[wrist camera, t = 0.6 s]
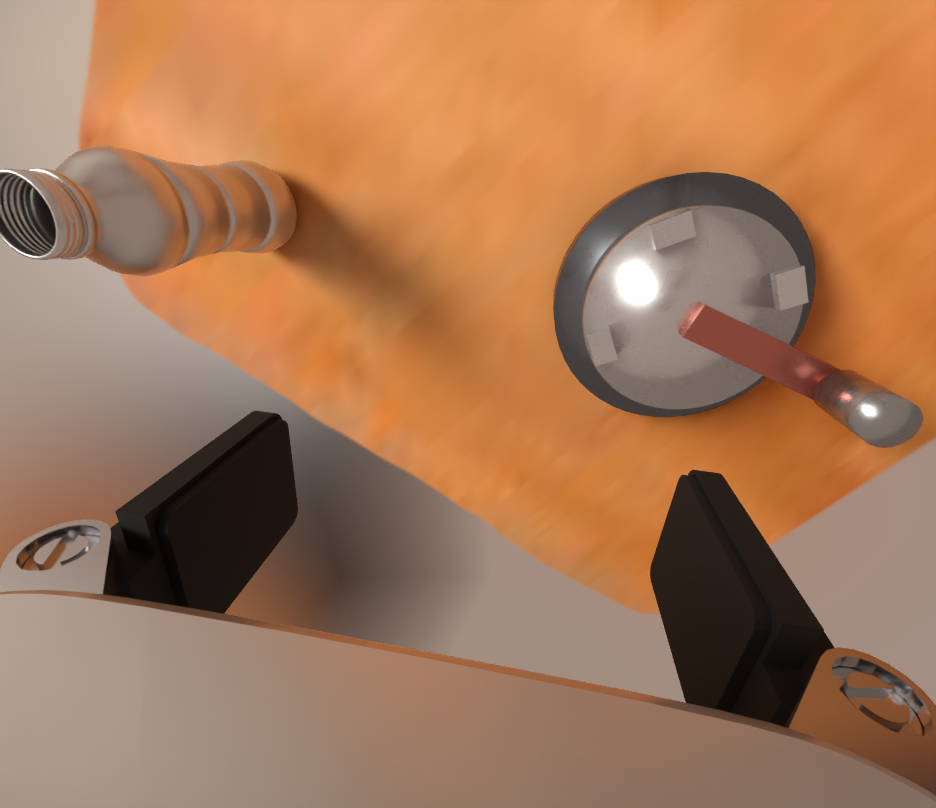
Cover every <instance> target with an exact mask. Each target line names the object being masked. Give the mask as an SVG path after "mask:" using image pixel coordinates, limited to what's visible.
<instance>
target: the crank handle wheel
mask: <svg viewBox="0 0 936 808" xmlns="http://www.w3.org/2000/svg"><path fill="white" fill-rule="evenodd" d="M805 303H808V293H807V284H806V275H805V266H804V265H800V264H799V261H798V259H797V256H796V254H795V252H794V250H793V249H792V247H791V245H790V244H789V242H788V241H787V240H786V239H785V237H784V236H783V235H782V234H781V233H780V232H779V231H778V230H777V229H776V228H775V227H773V226H772V225H771V224H770V223H768V222H767V221H765V220H763V219H762V218H760V217H758V216H756V215H754V214H751V213H749V212H746V211H744V210H739V209H735V208H731V207H723V206H707V205H697V206H684V207H678V208H673V209H669V210H666V211H663V212H659V213H657V214H654V215H652V216H650V217H648V218H646V219H644V220H642V221H640V222H639V223H637V224H635V225H634V226H632V227H630V228H629V229H628V230H627V231H625V232H624V233H623V234H621V235H620V236H619V237H618V238H617V239H616V240H615V241H614V242H613V243H612V244H611V245H610V246H609V247H608V248H607V250H606V251H605V252H604V253H603V255H602V256H601V257H600V259H599V260H598V262H597V263H596V265H595V267H594V268H593V270H592V272H591V275H590V277H589V279H588V281H587V284H586V287H585V290H584V294H583V299H582V305H581V325H582V331H583V336H584V340H585V343H586V347H587V350H588V352H589V355H590V358H591V360H592V362H593V364H594V365H595V367H596V369H597V371H598V372H599V373H600V375H601V376H602V377H603V378H604V380H605V381H606V382H607V383H608V384H609V385H610V386H611V387H613V388H614V389H615V390H617V391H618V392H619V393H621V394H622V395H624V396H626V397H628V398H629V399H631V400H633V401H636V402H638V403H641V404H644V405H648V406H651V407H656V408H663V409H690V408H697V407H702V406H707V405H710V404H713V403H716V402H720V401H722V400H724V399H727V398H729V397H731V396H734V395H735V394H737V393H739V392H741V391H742V390H744V389H746V388H747V387H749V386H750V385H752V384H753V383H754V382H756V381H757V380H758V379H759V378H761V377H762V376H765V377H767V378H769V379H771V380H773V381H775V382H778V383H780V384H782V385H784V386H786V387H788V388H790V389H792V390H794V391H796V392H798V393H801V394H803V395H805V396H807V397H809V398H811V399H813V400H814V401H815V403H816V405H817V406H818V407H820V408H821V409H822V410H824V411H825V412H826V413H828V414H829V415H830V416H832V417H833V418H835V419H836V420H837V421H839V422H840V423H841V424H843V425H844V426H845V427H847V428H848V429H849V430H851V431H852V432H853V433H855V434H856V435H857V436H859V437H860V438H861V439H863V440H864V441H865V442H867V443H868V444H870V445H872V446H876V447H892V446H896V445H899V444H902V443H904V442H906V441H907V440H909V439H910V438H912V437H913V436H914V435H915V434H916V433H917V431H918V430H919V429H920V427H921V424H922V421H923V415H922V412H921V410H920V409H919V407H918V406H916V405H915V404H913V403H911V402H910V401H908V400H906V399H904V398H902V397H900V396H899V395H897V394H895V393H893V392H891V391H889V390H888V389H886V388H884V387H882V386H880V385H878V384H877V383H875V382H873V381H871V380H869V379H867V378H866V377H864V376H862V375H860V374H858V373H856V372H854V371H850V370H841V369H839V368H837V367H834V366H832V365H830V364H828V363H826V362H824V361H822V360H820V359H818V358H816V357H814V356H812V355H810V354H808V353H805V352H803V351H801V350H799V349H797V348H795V347H793V346H791V345H789V343H790V341H791V339H792V338H793V336H794V333H795V331H796V328H797V326H798V323H799V320H800V316H801V312H802V308H803V304H805Z"/></svg>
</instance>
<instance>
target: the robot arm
mask: <svg viewBox="0 0 936 808" xmlns="http://www.w3.org/2000/svg"><path fill="white" fill-rule="evenodd" d="M297 513H298V506H297V497H296V488H295V480H294V471H293V463H292V454H291V446H290V437H289V429H288V424H287V422H286V421H284V420H282V418H281V416H280V415H279V414H276V413H268V412H261V411H254V412H251V413H250V414H249V415H247V416H246V417H245V418H243V419H242V420H240V421H239V422H238V423H236V424H235V425H233V426H232V427H231V428H229V429H228V430H227V431H225V432H224V433H222V434H221V435H220V436H218V437H217V438H216V439H214V440H213V441H211V442H210V443H209V444H207V445H206V446H205V447H203V448H202V449H201V450H199V451H198V452H196V453H195V454H194V455H192V456H191V457H189V458H188V459H187V460H185V461H184V462H183V463H181V464H180V465H178V466H177V467H176V468H174V469H173V470H172V471H170V472H169V473H168V474H166V475H165V476H163V477H162V478H161V479H159V480H158V481H157V482H155V483H154V484H152V485H151V486H150V487H148V488H147V489H145V490H144V491H143V492H141V493H140V494H139V495H137V496H136V497H134V498H133V499H132V500H130V501H129V502H128V503H126V504H125V505H123V506H122V507H121V508H119V509H118V510H117V511H116V515H117V517H118V520H119V522H118V523H117V524H116V525H114V526H113V527H112V528H110V527H109V526H108V525H107V524H106V523H104V522H101V521H97V520H78V521H71V522H66V523H63V524H60V525H56V526H53V527H50V528H47V529H45V530H43V531H41V532H38V533H36V534H34V535H32V536H31V537H29V538H27V539H26V540H24V541H22V542H21V543H20V544H19V545H17V546H16V547H15V548H14V549H13V550H12V551H11V552H10V553H9V554H8V556H7V558H6V559H5V560H4V563H3V565H2V567H1V570H0V808H936V705H935V704H934V703H933V701H932V700H931V699H930V698H929V697H928V696H927V694H926V693H925V692H924V691H923V690H922V689H920V687H918V686H917V685H916V684H915V683H914V682H913V681H911V680H910V679H909V678H908V677H907V676H906V675H904V674H903V673H901V672H900V671H898V670H897V669H895V668H893V667H892V666H891V665H889V664H887V663H885V662H883V661H881V660H879V659H877V658H875V657H873V656H871V655H869V654H866V653H863V652H860V651H857V650H854V649H848V648H834V647H833V645H832V643H831V642H830V640H829V639H828V637H827V636H826V634H825V633H824V629H823V628H822V626H821V625H820V623H819V622H818V620H817V618H816V617H815V616H814V614H813V613H812V611H811V609H810V608H809V606H808V605H807V603H806V602H805V600H804V599H803V597H802V596H801V594H800V593H799V591H798V590H797V588H796V587H795V585H794V583H793V582H792V580H791V579H790V578H789V576H788V574H787V573H786V571H785V570H784V568H783V567H782V565H781V564H780V562H779V561H778V559H777V558H776V556H775V555H774V553H773V552H772V550H771V548H770V547H769V545H768V544H767V542H766V541H765V539H764V538H763V536H762V535H761V533H760V532H759V530H758V529H757V527H756V526H755V524H754V523H753V521H752V520H751V518H750V516H749V515H748V513H747V512H746V510H745V509H744V507H743V506H742V504H741V503H740V501H739V500H738V498H737V497H736V495H735V494H734V492H733V491H732V489H731V488H730V486H729V485H728V483H727V481H726V480H725V478H724V477H723V476H722V475H721V474H719V473H713V472H705V471H698V470H692V471H690V473H689V474H688V476H687V475H682V476H681V477H680V478H679V481H678V483H677V486H676V490H675V493H674V496H673V499H672V502H671V505H670V508H669V511H668V514H667V517H666V520H665V524H664V527H663V530H662V533H661V536H660V539H659V542H658V545H657V548H656V551H655V554H654V558H653V561H652V564H651V570H650V577H651V583H652V586H653V590H654V593H655V597H656V600H657V604H658V607H659V611H660V614H661V618H662V621H663V624H664V628H665V632H666V635H667V638H668V642H669V645H670V649H671V652H672V656H673V659H674V663H675V666H676V670H677V673H678V677H679V680H680V684H681V687H682V691H683V694H684V698H685V701H686V703H684V702H679V701H674V700H670V699H665V698H660V697H655V696H651V695H646V694H641V693H637V692H632V691H627V690H622V689H617V688H611V687H607V686H602V685H596V684H591V683H587V682H581V681H576V680H571V679H566V678H560V677H556V676H550V675H545V674H540V673H535V672H530V671H525V670H520V669H515V668H510V667H505V666H499V665H494V664H489V663H484V662H479V661H474V660H468V659H463V658H457V657H453V656H447V655H442V654H436V653H431V652H426V651H420V650H415V649H410V648H405V647H400V646H395V645H389V644H384V643H379V642H373V641H367V640H363V639H357V638H352V637H347V636H341V635H336V634H331V633H325V632H320V631H315V630H309V629H304V628H298V627H292V626H287V625H281V624H276V623H271V622H265V621H260V620H254V619H248V618H243V617H238V616H232V615H227V614H224V613H225V612H226V610H227V609H228V608H229V606H230V605H231V604H232V602H233V601H234V600H235V598H236V597H237V596H238V595H239V593H240V592H241V591H242V589H243V588H244V587H245V586H246V584H247V583H248V582H249V580H250V579H251V578H252V576H253V575H254V574H255V572H256V571H257V570H258V569H259V567H260V566H261V565H262V564H263V562H264V561H265V560H266V558H267V557H268V556H269V554H270V553H271V552H272V550H273V549H274V548H275V547H276V545H277V544H278V543H279V541H280V540H281V539H282V538H283V536H284V535H285V534H286V532H287V531H288V530H289V529H290V527H291V526H292V525H293V523H294V522H295V519H296V517H297Z"/></svg>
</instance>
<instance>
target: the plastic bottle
mask: <svg viewBox="0 0 936 808" xmlns="http://www.w3.org/2000/svg"><path fill="white" fill-rule="evenodd" d="M296 222H297V210H296V204H295V201H294V197H293V195H292V193H291V191H290V189H289V187H288V186H287V184H286V183H285V181H284V180H283V179H282V178H281V177H280V176H279V175H278V174H277V173H275V172H274V171H273V170H271V169H269V168H267V167H265V166H262V165H260V164H258V163H255V162H251V161H233V162H228V163H223V164H220V165H209V166H194V165H186V164H182V163H176V162H170V161H165V160H162V159H158V158H155V157H151V156H148V155H145V154H141V153H138V152H135V151H131V150H128V149H124V148H118V147H113V146H101V145H99V146H95V147H91V148H88V149H84V150H81V151H78V152H75V153H74V154H72V155H71V156H69V157H68V158H67V159H66V160H65V161H64V162H63V163H62V164H60V165H59V167H58V168H57V169H56V170H55V171H53V170H49V169H35V168H32V169H28V170H19V169H0V237H1V238H2V239H3V240H4V242H5V243H6V244H8V245H9V246H10V247H11V248H12V249H13V250H15V251H16V252H18V253H19V254H21V255H23V256H26V257H28V258H32V259H41V260H47V259H56V258H61V259H78V258H84V257H86V258H88V259H90V260H92V261H93V262H96V263H97V264H99V265H102V266H103V267H106V268H108V269H109V270H112V271H115V272H118V273H122V274H128V275H135V276H149V275H154V274H157V273H161V272H164V271H167V270H169V269H171V268H174V267H176V266H178V265H181V264H183V263H185V262H188V261H190V260H192V259H195V258H198V257H202V256H206V255H210V254H213V253H218V252H233V251H241V252H246V253H267V252H271V251H273V250H275V249H277V248H279V247H281V246H282V245H284V244H285V243H286V242H287V241H288V240H289V239H290V238H291V236H292V235H293V232H294V230H295V227H296Z"/></svg>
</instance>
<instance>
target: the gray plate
mask: <svg viewBox="0 0 936 808" xmlns="http://www.w3.org/2000/svg"><path fill="white" fill-rule="evenodd" d="M697 205H707V206H723V207H731V208H735V209H739V210H744V211H746V212H749V213H751V214H754V215H756V216H758V217H760V218H762V219H763V220H765V221H767V222H768V223H770V224H771V225H772V226H773V227H775V228H776V229H777V230H778V231H779V232H780V233H781V234H782V235H783V236H784V237H785V239H786V240H787V241H788V242H789V244H790V245H791V247H792V249H793V250H794V252H795V254H796V256H797V259H798V261H799V264H800V265H804V266H805V275H806V284H807V293H808V303H805V304H803V308H802V312H801V316H800V320H799V323H798V326H797V328H796V331H795V333H794V336H793V338H792V339H791V341H790V343H789V345H791V346H794V344H795V342H796V341H797V339H798V337H799V335H800V334H801V332H802V330H803V327H804V325H805V323H806V320H807V318H808V315H809V312H810V308H811V304H812V301H813V296H814V287H815V262H814V257H813V252H812V247H811V244H810V241H809V239H808V236H807V233H806V231H805V229H804V227H803V226H802V224H801V222H800V220H799V219H798V217H797V216H796V215H795V213H794V212H793V211H792V210H791V209H790V207H789V206H788V205H787V204H786V203H785V202H784V201H783V200H781V199H780V198H779V197H778V196H777V195H776V194H774V193H773V192H771V191H769V190H768V189H766V188H765V187H763V186H761V185H760V184H757V183H755V182H752V181H750V180H747V179H745V178H742V177H738V176H733V175H729V174H724V173H711V172H700V173H686V174H681V175H675V176H670V177H665V178H660V179H656V180H653V181H650V182H647V183H644V184H641V185H639V186H637V187H635V188H633V189H631V190H629V191H626V192H625V193H623V194H621V195H620V196H618V197H617V198H615V199H613V200H612V201H610V202H609V203H608V204H607V205H605V206H604V207H603V208H602V209H600V210H599V211H598V212H597V213H596V214H595V215H594V216H593V217H592V218H591V219H590V220H589V221H588V222H587V223H586V224H585V225H584V227H583V228H582V229H581V231H580V232H579V233H578V234H577V236H576V237H575V239H574V240H573V242H572V244H571V245H570V247H569V249H568V250H567V252H566V255H565V257H564V259H563V261H562V264H561V266H560V269H559V273H558V276H557V279H556V284H555V291H554V304H553V311H554V320H555V330H556V335H557V339H558V343H559V347H560V349H561V352H562V354H563V357H564V359H565V361H566V363H567V365H568V366H569V368H570V370H571V371H572V373H573V374H574V375H575V376H576V378H577V379H578V380H579V382H580V383H581V384H582V385H584V386H585V387H586V388H587V389H588V390H589V391H590V392H591V393H593V394H594V395H595V396H597V397H598V398H599V399H601V400H603V401H604V402H606V403H608V404H610V405H612V406H614V407H616V408H619V409H622V410H624V411H627V412H631V413H635V414H639V415H645V416H653V417H675V416H685V415H690V414H695V413H700V412H703V411H707V410H710V409H713V408H716V407H718V406H721V405H723V404H725V403H728V402H730V401H732V400H734V399H736V398H737V397H739V396H741V395H743V394H744V393H746V392H747V391H749V390H750V389H752V388H753V387H755V386H756V385H757V384H759V383H760V382H761V381H762V380H763V379H765V378H766V377H765V376H762V377H761V378H759V379H758V380H757V381H756V382H754V383H753V384H752V385H750V386H749V387H747V388H746V389H744V390H742V391H741V392H739V393H737V394H735V395H734V396H731V397H729V398H727V399H724V400H722V401H720V402H716V403H713V404H710V405H707V406H702V407H697V408H690V409H663V408H656V407H651V406H648V405H644V404H641V403H638V402H636V401H633V400H631V399H629V398H628V397H626V396H624V395H622V394H621V393H619V392H618V391H617V390H615V389H614V388H613V387H611V386H610V385H609V384H608V383H607V382H606V381H605V380H604V378H603V377H602V376H601V375H600V373H599V372H598V371H597V369H596V367H595V365H594V364H593V362H592V360H591V358H590V355H589V352H588V350H587V347H586V343H585V340H584V336H583V331H582V325H581V305H582V299H583V294H584V290H585V287H586V284H587V281H588V279H589V277H590V275H591V272H592V270H593V268H594V267H595V265H596V263H597V262H598V260H599V259H600V257H601V256H602V255H603V253H604V252H605V251H606V250H607V248H608V247H609V246H610V245H611V244H612V243H613V242H614V241H615V240H616V239H617V238H618V237H619V236H620V235H621V234H623V233H624V232H625V231H627V230H628V229H629V228H630V227H632V226H634V225H635V224H637V223H639V222H640V221H642V220H644V219H646V218H648V217H650V216H652V215H654V214H657V213H659V212H663V211H666V210H669V209H673V208H678V207H684V206H697Z"/></svg>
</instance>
